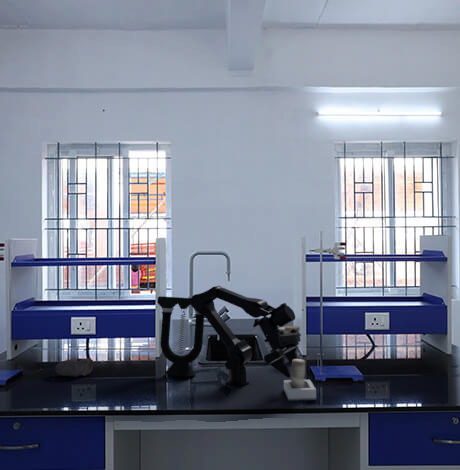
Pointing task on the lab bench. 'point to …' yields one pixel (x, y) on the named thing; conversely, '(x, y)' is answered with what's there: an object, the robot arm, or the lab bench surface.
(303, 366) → the peg
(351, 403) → the lab bench surface
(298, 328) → the handle
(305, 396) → the socket block
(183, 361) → the spring support
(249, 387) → the lab bench surface
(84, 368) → the perforated stone tool
